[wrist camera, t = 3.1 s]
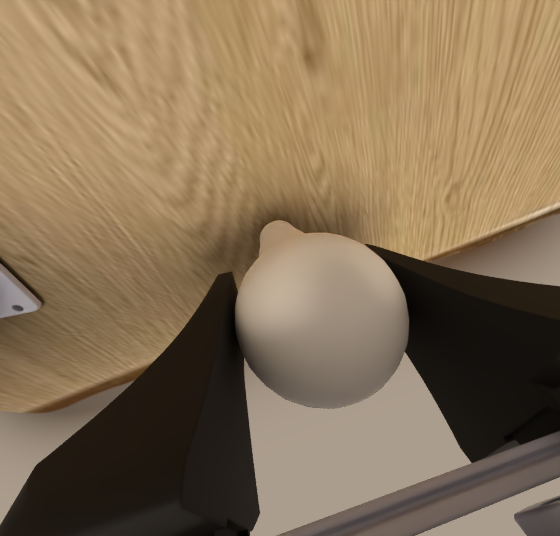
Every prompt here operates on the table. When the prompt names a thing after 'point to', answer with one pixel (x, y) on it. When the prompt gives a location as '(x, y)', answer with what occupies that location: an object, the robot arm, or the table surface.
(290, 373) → the lightbulb
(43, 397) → the table surface
